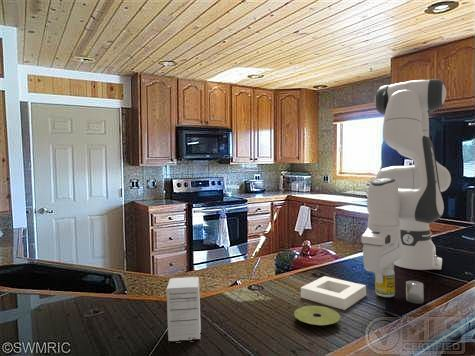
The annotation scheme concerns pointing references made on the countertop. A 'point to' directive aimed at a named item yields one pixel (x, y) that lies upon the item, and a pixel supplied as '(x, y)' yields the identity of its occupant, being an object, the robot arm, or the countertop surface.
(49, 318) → the countertop surface
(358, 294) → the bore plate
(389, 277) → the supplement bottle
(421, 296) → the short stub
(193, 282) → the supplement box
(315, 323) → the green disc
